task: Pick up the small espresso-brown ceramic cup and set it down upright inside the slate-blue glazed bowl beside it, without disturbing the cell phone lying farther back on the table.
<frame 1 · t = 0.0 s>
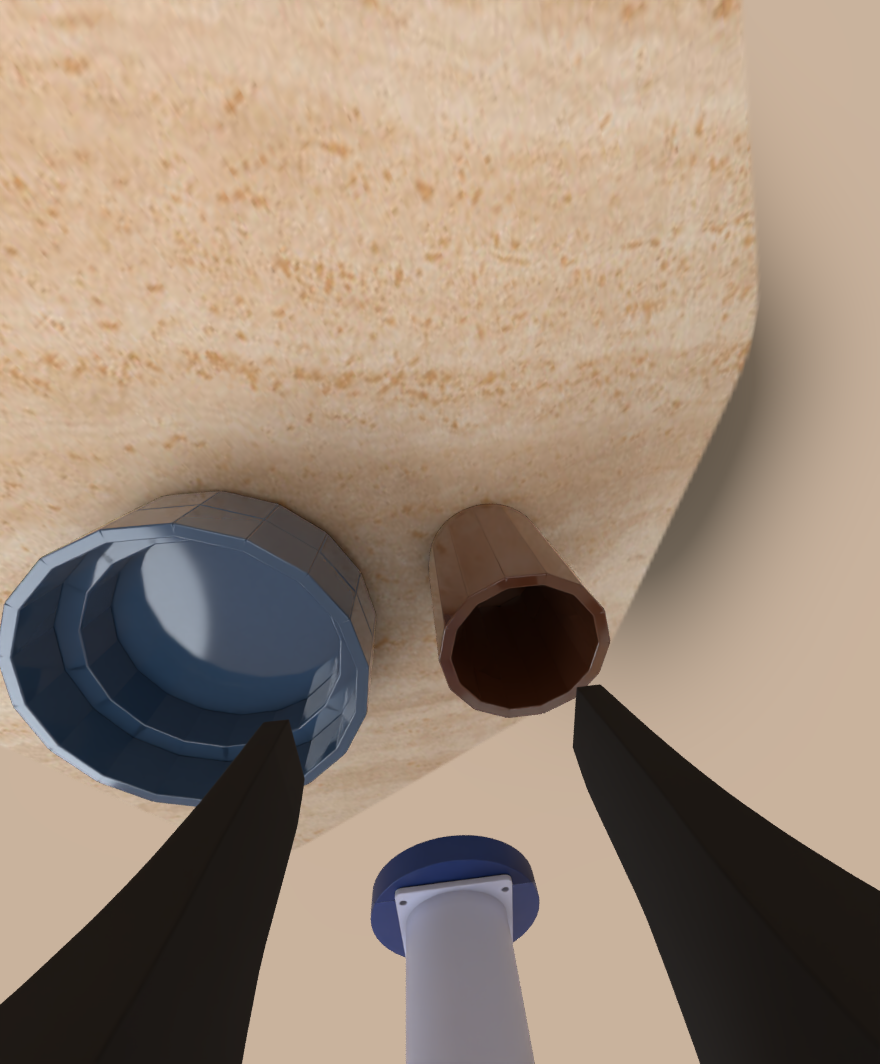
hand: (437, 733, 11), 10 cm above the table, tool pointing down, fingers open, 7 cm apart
bowl: (238, 620, 20), on the table
cup: (486, 558, 20), on the table
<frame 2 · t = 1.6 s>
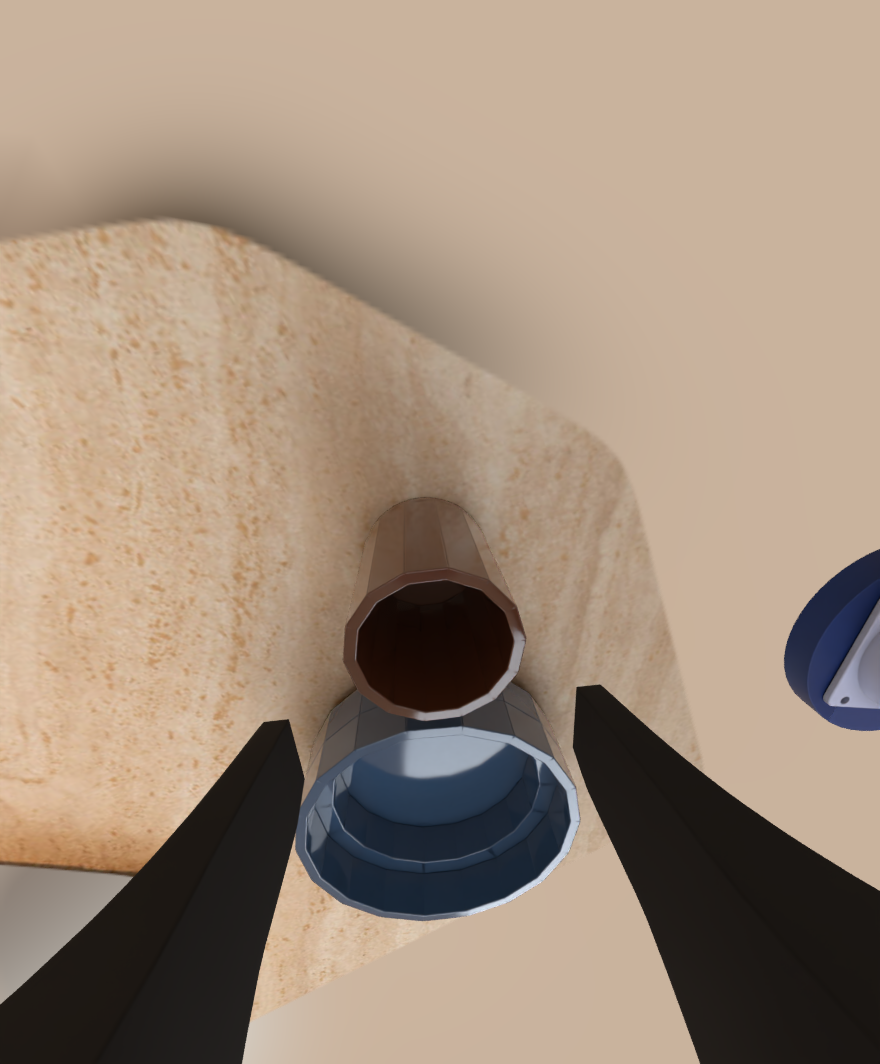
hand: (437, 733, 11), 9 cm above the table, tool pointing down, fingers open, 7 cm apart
bowl: (434, 752, 23), on the table
cup: (425, 554, 19), on the table
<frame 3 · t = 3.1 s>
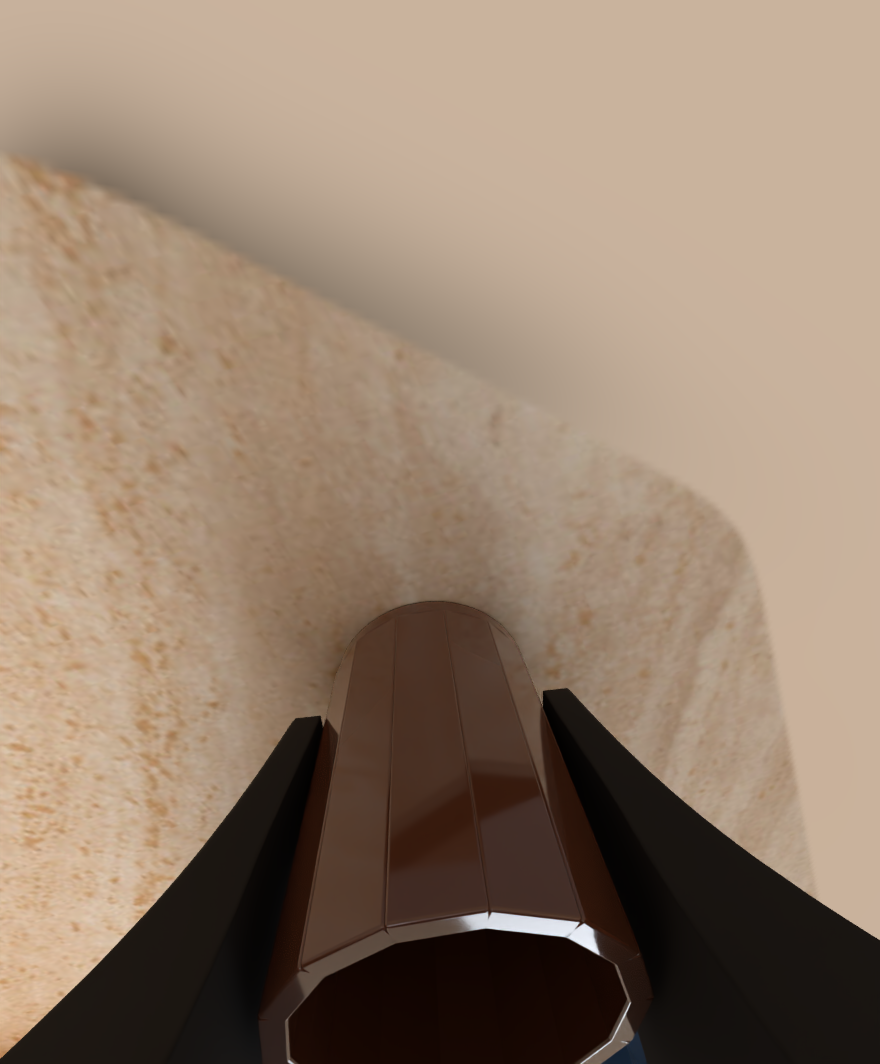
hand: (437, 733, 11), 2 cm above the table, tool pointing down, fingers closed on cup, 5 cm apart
bowl: (453, 923, 17), on the table
cup: (431, 681, 12), on the table, touching gripper
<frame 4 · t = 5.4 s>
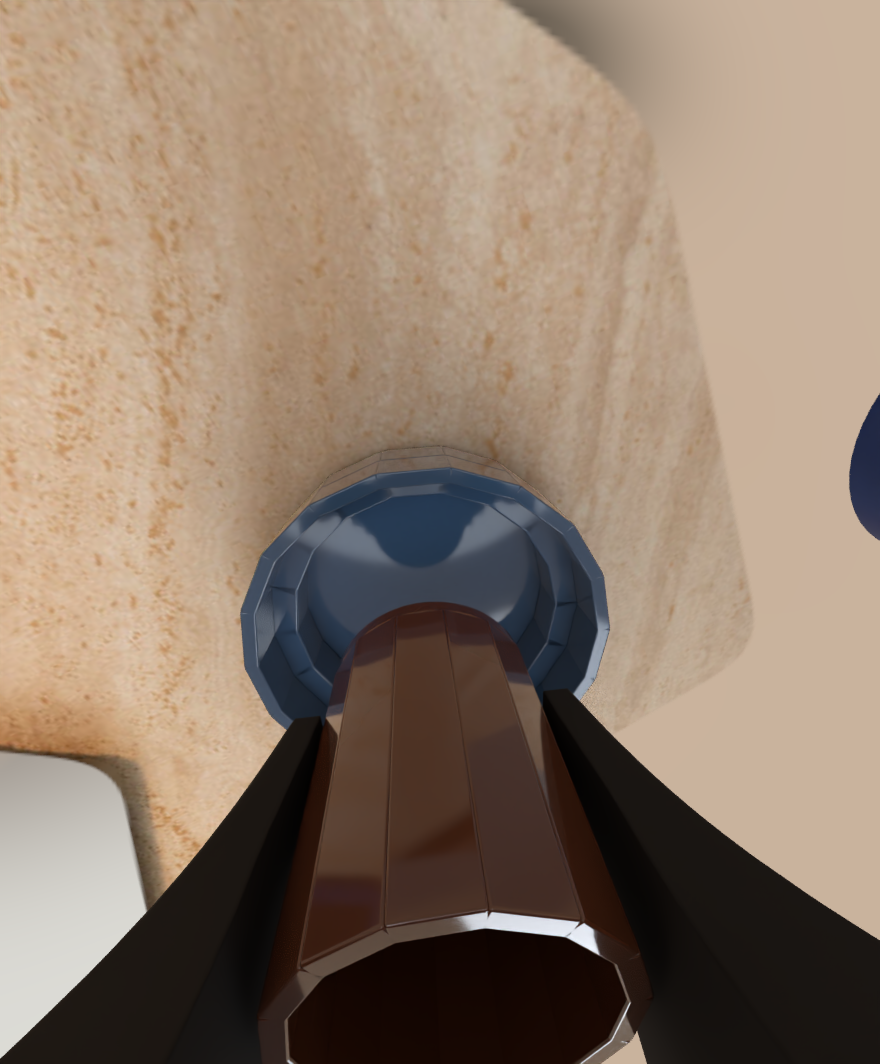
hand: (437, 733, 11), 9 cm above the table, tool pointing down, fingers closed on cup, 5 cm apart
bowl: (425, 587, 19), on the table
cup: (431, 680, 12), point 7 cm above the table, touching gripper
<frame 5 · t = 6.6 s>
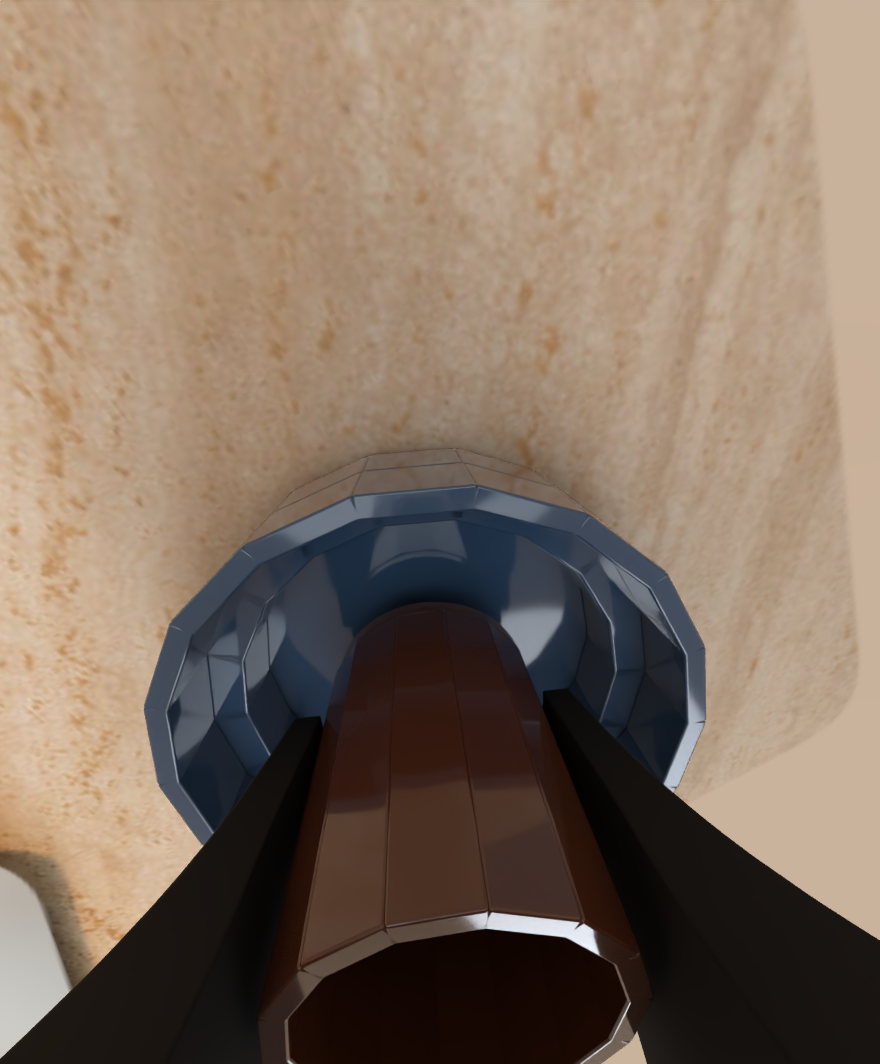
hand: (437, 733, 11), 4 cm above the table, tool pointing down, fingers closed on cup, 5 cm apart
bowl: (430, 639, 14), on the table
cup: (431, 681, 12), point 2 cm above the table, touching gripper
when the fingers open (2 cm above the table, at t = 7.6 s): cup stays where it is, resting on bowl.
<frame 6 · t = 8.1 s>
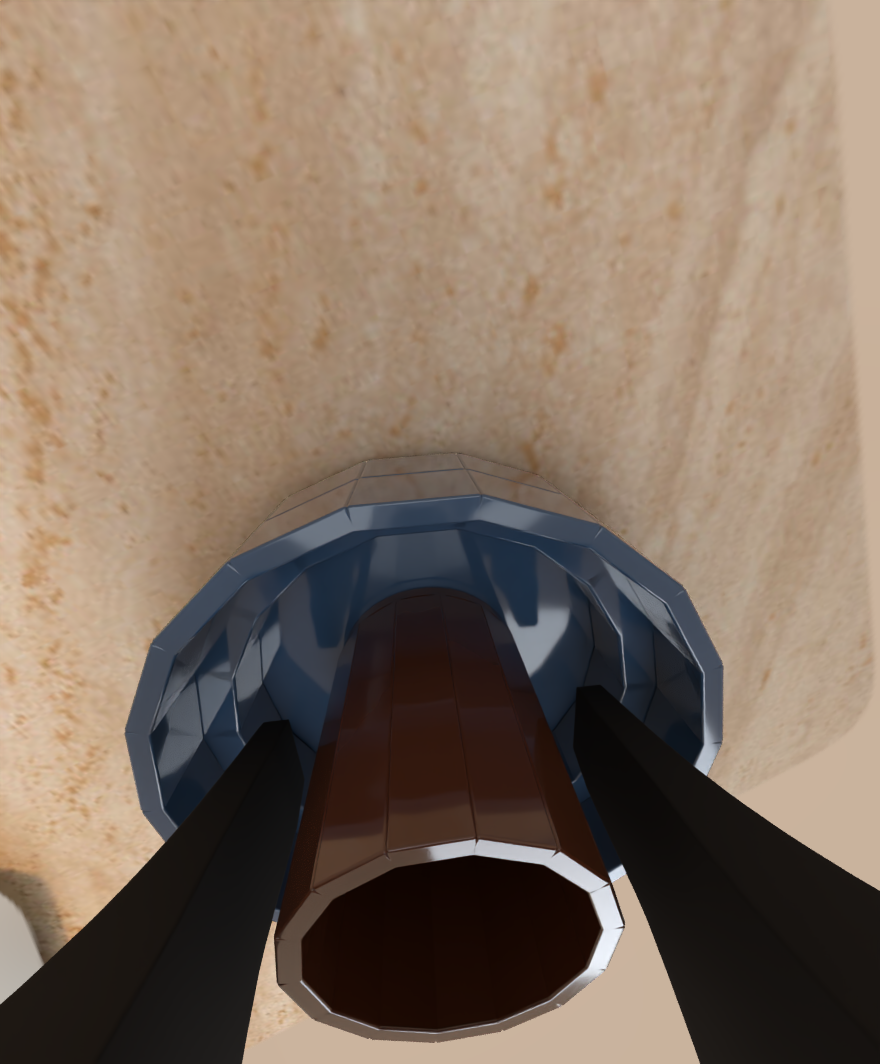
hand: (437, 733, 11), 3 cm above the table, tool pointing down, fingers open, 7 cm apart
bowl: (430, 651, 14), on the table
cup: (429, 663, 13), point 1 cm above the table, touching bowl
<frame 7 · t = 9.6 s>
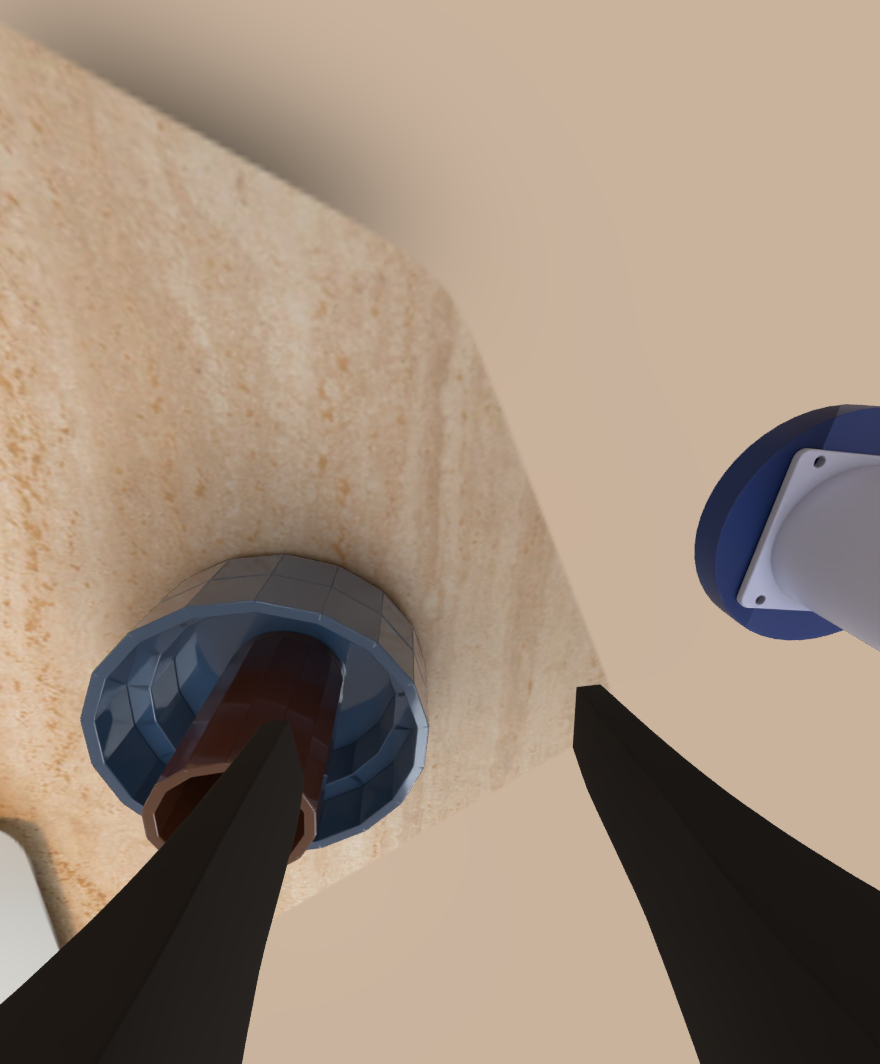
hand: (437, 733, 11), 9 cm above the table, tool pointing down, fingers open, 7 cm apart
bowl: (292, 669, 21), on the table
cup: (287, 678, 20), point 1 cm above the table, touching bowl
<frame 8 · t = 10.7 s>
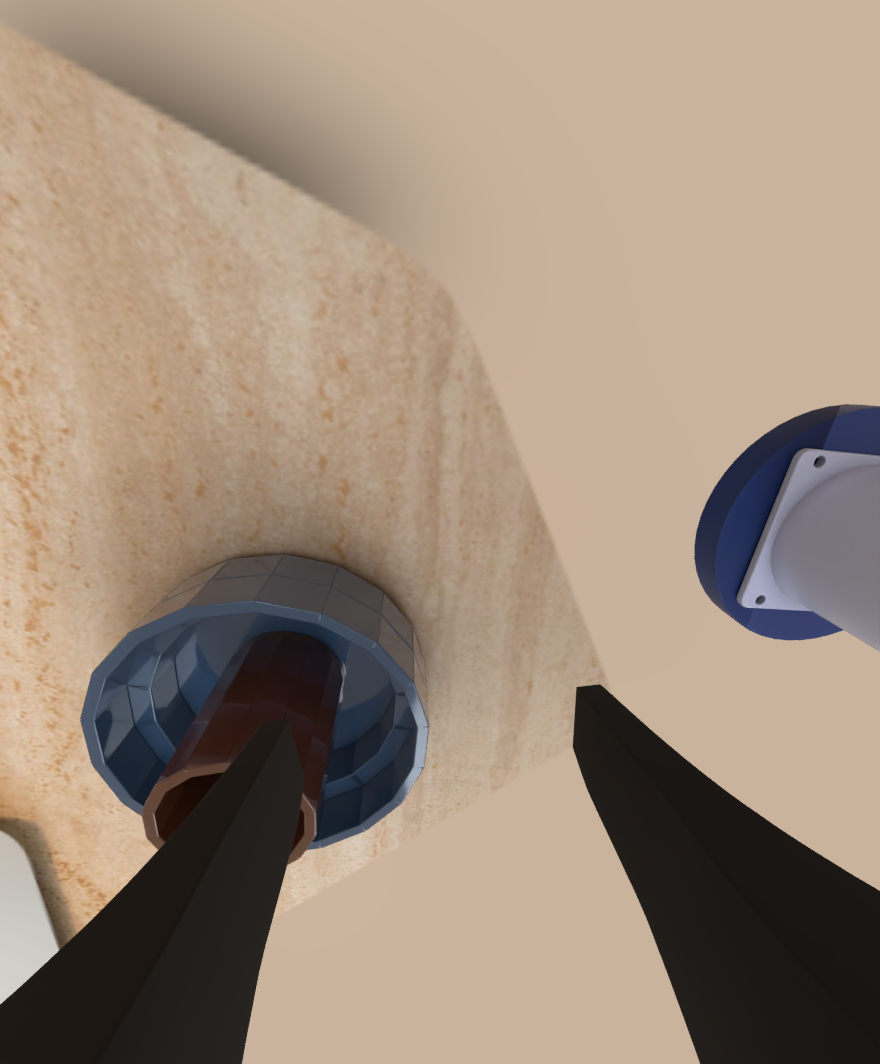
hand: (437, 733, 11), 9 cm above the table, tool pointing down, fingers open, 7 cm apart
bowl: (292, 669, 21), on the table
cup: (287, 678, 20), point 1 cm above the table, touching bowl
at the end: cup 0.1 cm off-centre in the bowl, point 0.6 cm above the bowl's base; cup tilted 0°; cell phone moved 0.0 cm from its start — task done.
